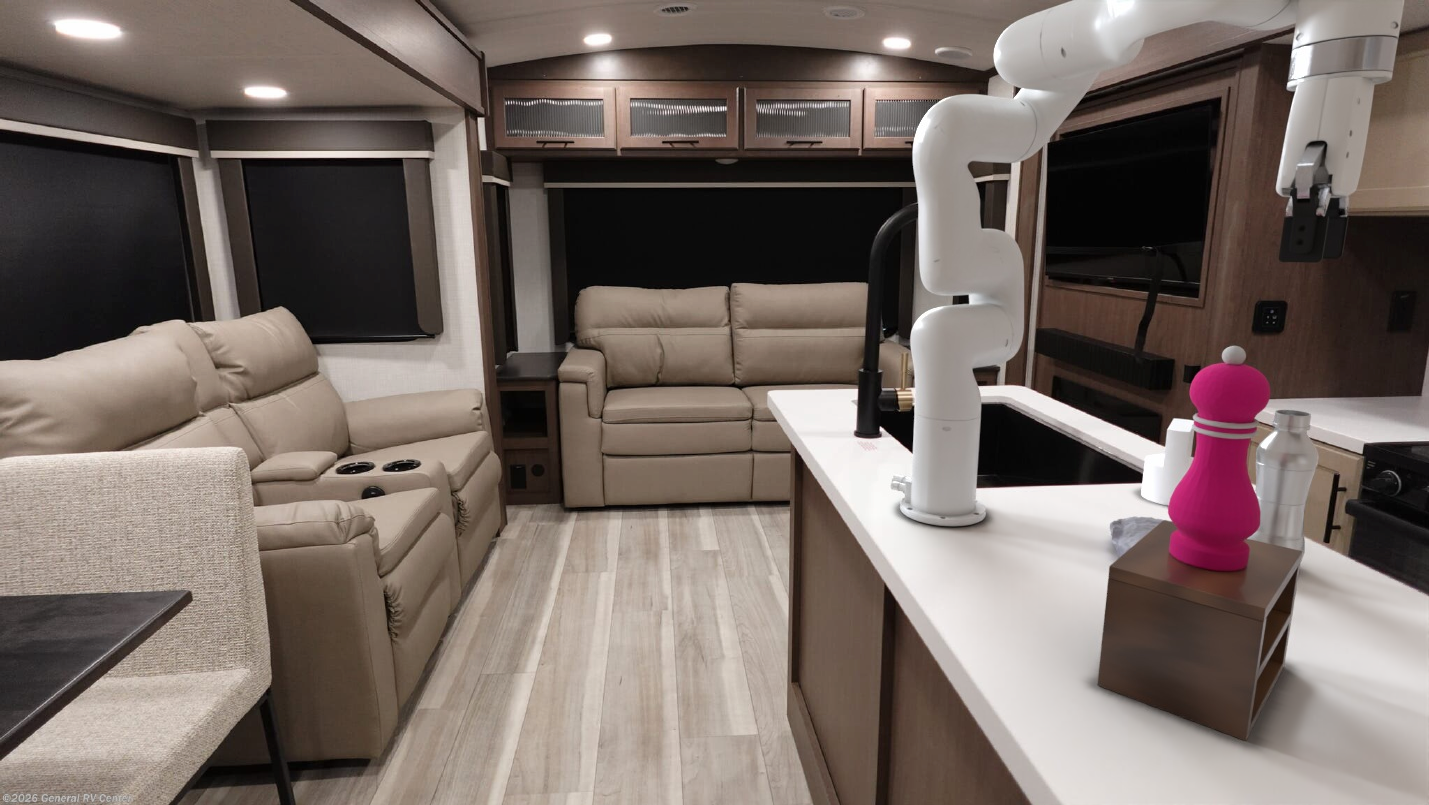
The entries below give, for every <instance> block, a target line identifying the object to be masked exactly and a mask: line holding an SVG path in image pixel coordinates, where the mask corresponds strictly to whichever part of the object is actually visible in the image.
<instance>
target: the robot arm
mask: <svg viewBox="0 0 1429 805" xmlns="http://www.w3.org/2000/svg"><path fill="white" fill-rule="evenodd" d="M1404 5H1405V0H1069V1H1067V2H1066V1H1065V2H1064V3H1061V4H1058V5H1055V6H1052V7H1049V8H1046V9H1043V10H1040V11H1037V12H1034V13H1032V14H1030V15H1026V16H1025V17H1022V18H1020V19H1018V20H1016V21H1015V22H1013V23H1011V24H1010V25H1009V26H1007V27H1006V28H1005V30H1003V32H1002V33H1000V36H999V37H998V39H997V41H996V43H995V46H994V49H993V63H994V67H995V69H996V71H997V73H998V75H999V76H1000V77H1001V79H1002V80H1003V81H1005V82H1006V83H1007V84H1010V86H1013V87H1016V88H1019V89H1020V90H1018V93H1017V94H1016V95H1015V97H1014V98H1012V97H1005V96H1004V97H1002V96H995V95H988V94H977V93H964V94H956V95H951V96H948V97H946V98H943V99H941V100H939V101H938V102H937V103H935V104H934V105H933V106H931V107H930V109H928V110H927V111H926V113H925V115H924V116H923V118H922V119H921V121H920V123H919V124H918V126H917V129H916V132H915V135H914V139H913V144H912V166H913V167H912V168H913V175H914V181H915V188H916V196H917V204H918V205H917V206H918V208H917V209H918V210H917V212H918V214H917V216H918V217H917V223H918V226H917V227H918V263H919V264H918V265H919V267H918V268H919V275H920V280H921V283H922V285H923V287H924V288H925V290H927V291H928V292H929V293H931V294H933V295H937V296H944V297H946V296H947V297H948V296H949V297H951V296H952V297H953V296H968V303H962V304H949V305H942V306H937V307H934V308H931V309H929V310H927V311H925V312H924V313H922V314H921V315H920V316H919V317H918V318H917V319H916V321H915V322H914V324H913V326H912V328H911V331H910V337H909V341H910V350H911V351H910V352H911V358H912V365H913V375H914V408H913V411H914V412H913V413H914V416H913V418H914V419H913V442H912V461H911V462H912V464H911V466H912V467H911V477H909V476H908V477H907V476H906V475H902V474H898V473H896V474H894V475H893V476H892V478H891V483H890V489H891V490H892V491H898V492H902V493H903V494H904V497H903V498H902V499H901V500H900V502H899V503H900V505H899V509H900V511H901V513H902V514H903V515H904V516H906V517H907V518H909V519H911V520H913V521H916V522H920V523H923V524H928V525H932V526H940V527H964V526H965V527H966V526H972V525H974V524H978V523H980V522H982V521H983V520H984V519H985V518H986V515H987V514H986V512H987V509H986V506H985V505H984V504H983V503H982V502H981V501H979V500H977V487H978V486H977V484H978V469H979V455H980V454H979V452H980V436H981V435H980V434H981V420H982V396H981V391H980V388H979V387H980V386H979V385H978V382H977V380H976V377H975V374H974V371H973V369H977V368H984V367H990V366H996V365H1000V364H1005V363H1006V362H1008V361H1010V360H1011V359H1013V358H1014V357H1015V356H1016V355H1017V353H1018V352H1019V350H1020V348H1021V346H1022V343H1023V338H1024V332H1025V267H1024V266H1025V264H1024V258H1023V254H1022V251H1021V248H1020V247H1019V244H1018V243H1017V241H1016V239H1015V238H1013V236H1011V235H1010V234H1009V233H1007V232H1006V231H1004V230H1001V229H997V228H982V222H981V198H980V192H979V189H978V186H977V182H976V180H975V179H974V176H973V175H972V173H971V171H970V170H969V164H970V163H971V162H982V163H1000V164H1001V163H1002V164H1016V163H1020V162H1023V161H1026V160H1027V159H1029V158H1031V157H1033V156H1034V155H1035V154H1036V153H1037V152H1039V151H1040V150H1041V149H1043V147H1044V146H1045V145H1046V143H1047V142H1048V141H1049V140H1050V139H1051V137H1053V135H1054V134H1055V133H1056V131H1057V130H1058V129H1059V128H1060V126H1061V125H1062V124H1063V122H1064V121H1065V120H1066V119H1067V118H1068V116H1069V115H1070V114H1071V113H1072V111H1073V110H1074V109H1076V107H1077V105H1078V104H1080V101H1081V100H1082V99H1083V98H1084V96H1085V95H1086V93H1088V91H1090V89H1091V87H1092V86H1093V84H1094V82H1095V81H1096V80H1097V78H1099V75H1100V73H1101V72H1105V71H1108V70H1113V69H1117V68H1118V69H1119V68H1121V67H1124V66H1126V65H1128V64H1130V63H1132V61H1134V60H1135V59H1136V57H1137V56H1138V55H1139V54H1140V52H1141V50H1142V49H1143V46H1144V43H1145V39H1147V38H1148V37H1151V36H1154V35H1157V34H1161V33H1163V32H1167V31H1171V30H1175V29H1178V28H1182V27H1186V26H1190V25H1194V24H1197V23H1203V22H1210V21H1212V22H1216V23H1222V24H1226V25H1230V26H1235V27H1239V28H1243V29H1248V30H1253V31H1260V32H1261V31H1262V32H1263V31H1273V30H1278V29H1282V28H1285V27H1289V26H1292V25H1294V26H1295V27H1294V33H1293V34H1294V35H1293V41H1292V49H1291V56H1290V64H1289V70H1288V78H1287V83H1286V84H1287V85H1286V90H1287V91H1289V92H1294V95H1293V98H1292V102H1291V107H1290V111H1289V115H1288V120H1287V124H1286V129H1285V135H1284V141H1283V145H1282V150H1281V151H1282V152H1281V157H1280V160H1279V161H1280V163H1279V168H1278V173H1277V180H1276V185H1275V191H1276V193H1277V194H1278V195H1279V196H1281V197H1283V198H1288V202H1287V204H1286V209H1285V216H1284V218H1283V223H1282V224H1283V225H1282V232H1281V238H1280V245H1279V252H1278V261H1279V262H1281V263H1310V264H1311V263H1312V264H1313V263H1314V264H1316V263H1320V262H1322V261H1323V260H1330V259H1331V260H1337V259H1341V258H1342V257H1343V255H1344V249H1345V242H1346V238H1347V231H1348V224H1349V216H1348V215H1349V209H1350V196H1351V195H1352V194H1353V193H1356V191H1357V189H1358V185H1359V181H1360V177H1361V173H1362V169H1363V168H1362V167H1363V162H1364V158H1365V152H1366V145H1367V140H1368V133H1369V128H1370V120H1371V115H1372V114H1371V113H1372V109H1373V107H1372V106H1373V99H1374V92H1375V86H1376V85H1381V84H1385V83H1388V82H1390V81H1392V79H1393V74H1394V73H1393V72H1394V68H1395V60H1396V54H1397V48H1398V43H1399V36H1400V31H1401V30H1400V29H1401V26H1402V25H1401V24H1402V18H1403V13H1404Z"/></svg>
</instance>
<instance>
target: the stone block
mask: <svg viewBox="0 0 1429 805" xmlns="http://www.w3.org/2000/svg"><path fill="white" fill-rule="evenodd" d="M1163 520H1164V519H1161V518H1155V517H1151V516H1149V517H1148V516H1130V517H1126V518H1118V519H1117V520H1113V521H1111V522H1110V523H1109V530H1110V535H1111V541H1112V545H1113V546H1114V548H1115V551H1116V553H1117V557H1118V559H1119V558H1120V557H1121V556H1122V555H1123V554H1124V553H1126V552H1127V551H1128V550H1129V549H1130V548H1131V547H1133V546H1134V545H1135V544H1136V543H1137V542H1138V541H1140V540H1141V539H1142V538H1143V537H1144V536H1145V535H1147V534H1148V533H1149V532H1150V531H1151V530H1152V529H1154V528H1155V527H1156V526H1157V525H1158V524H1159V523H1161V522H1162V521H1163ZM1165 520H1166V521H1170V522H1172V520H1167V519H1165Z"/></svg>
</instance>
